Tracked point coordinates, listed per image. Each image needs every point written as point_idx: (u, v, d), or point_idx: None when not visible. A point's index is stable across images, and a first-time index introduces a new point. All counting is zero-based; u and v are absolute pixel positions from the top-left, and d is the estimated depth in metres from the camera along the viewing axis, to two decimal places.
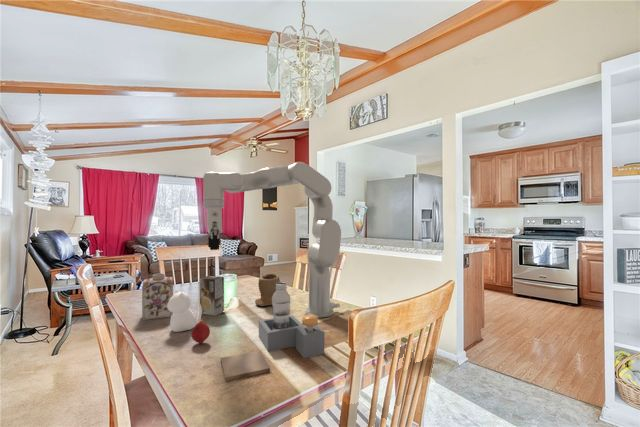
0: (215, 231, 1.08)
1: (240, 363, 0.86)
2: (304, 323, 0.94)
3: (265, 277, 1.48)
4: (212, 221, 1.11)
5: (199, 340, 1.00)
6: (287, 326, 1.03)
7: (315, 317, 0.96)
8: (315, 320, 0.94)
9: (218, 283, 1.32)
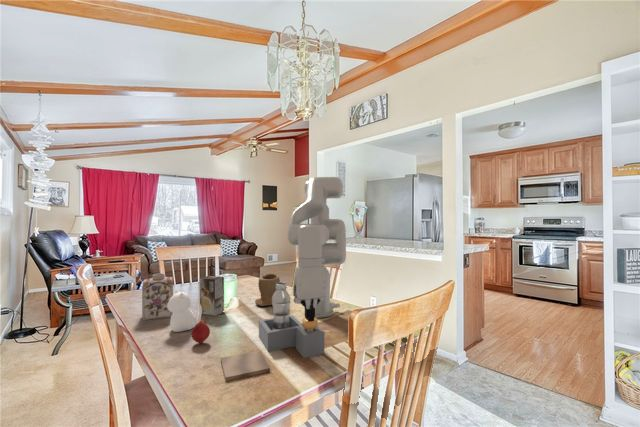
0: None
1: (240, 363, 0.86)
2: (304, 326, 0.94)
3: (265, 277, 1.48)
4: None
5: (199, 340, 1.00)
6: (287, 326, 1.03)
7: (315, 320, 0.96)
8: (315, 323, 0.94)
9: (218, 283, 1.32)
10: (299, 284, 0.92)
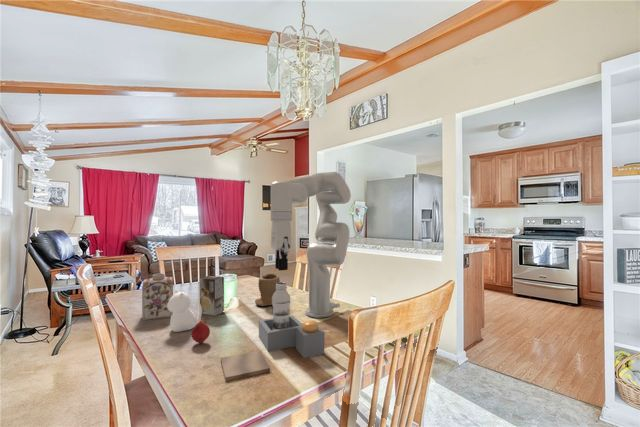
0: None
1: (240, 363, 0.86)
2: (304, 329, 0.94)
3: (265, 277, 1.48)
4: None
5: (199, 340, 1.00)
6: (287, 326, 1.03)
7: (315, 323, 0.96)
8: (315, 326, 0.94)
9: (218, 283, 1.32)
10: (290, 235, 1.02)
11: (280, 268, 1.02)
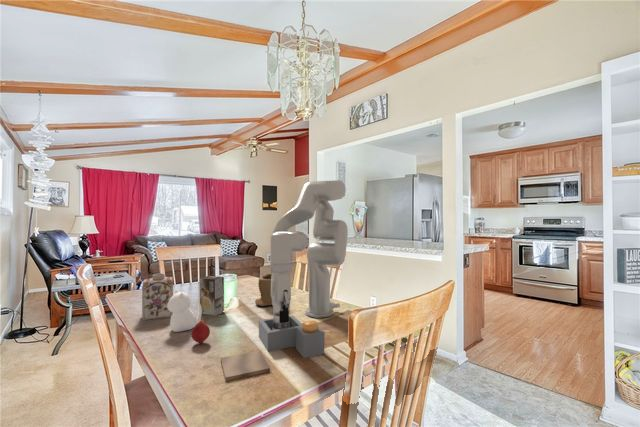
0: None
1: (240, 363, 0.86)
2: (304, 329, 0.94)
3: (265, 277, 1.48)
4: None
5: (199, 340, 1.00)
6: (287, 326, 1.03)
7: (315, 323, 0.96)
8: (315, 326, 0.94)
9: (218, 283, 1.32)
10: (290, 287, 1.02)
11: (281, 321, 1.01)
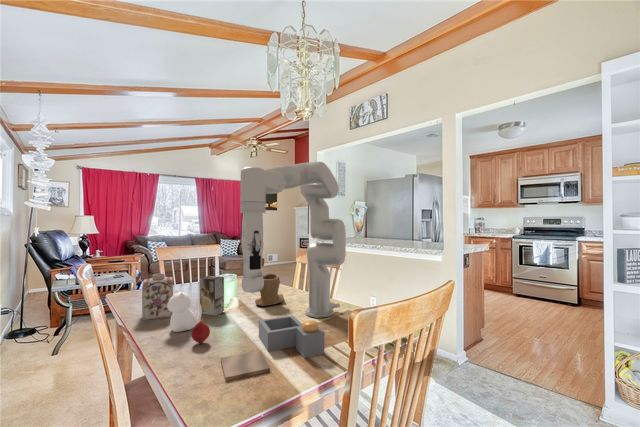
0: None
1: (240, 363, 0.86)
2: (304, 329, 0.94)
3: (265, 277, 1.48)
4: None
5: (199, 340, 1.00)
6: (259, 275, 0.89)
7: (315, 323, 0.96)
8: (315, 326, 0.94)
9: (218, 283, 1.32)
10: (262, 229, 0.87)
11: (251, 267, 0.86)
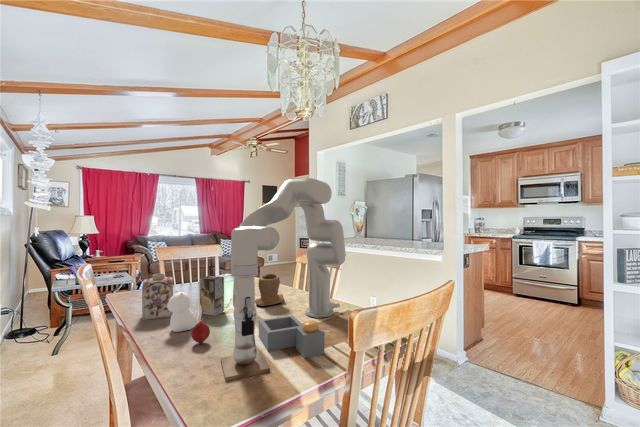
0: None
1: None
2: (304, 329, 0.94)
3: (265, 277, 1.48)
4: None
5: (199, 340, 1.00)
6: (251, 345, 0.85)
7: (315, 323, 0.96)
8: (315, 326, 0.94)
9: (218, 283, 1.32)
10: (254, 294, 0.84)
11: (244, 333, 0.82)
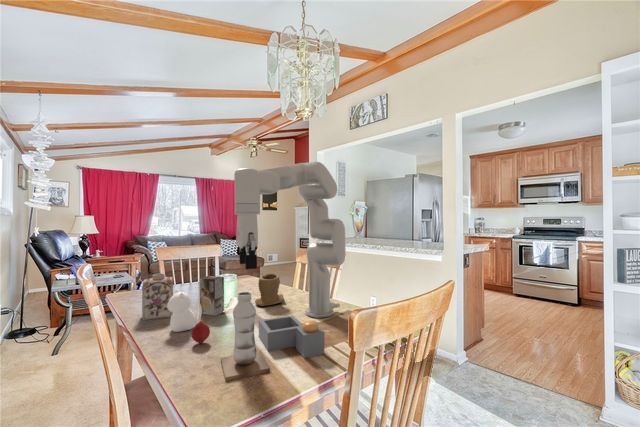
0: None
1: None
2: (304, 329, 0.94)
3: (265, 277, 1.48)
4: None
5: (199, 340, 1.00)
6: (251, 345, 0.85)
7: (315, 323, 0.96)
8: (315, 326, 0.94)
9: (218, 283, 1.32)
10: (257, 230, 0.87)
11: (247, 266, 0.85)
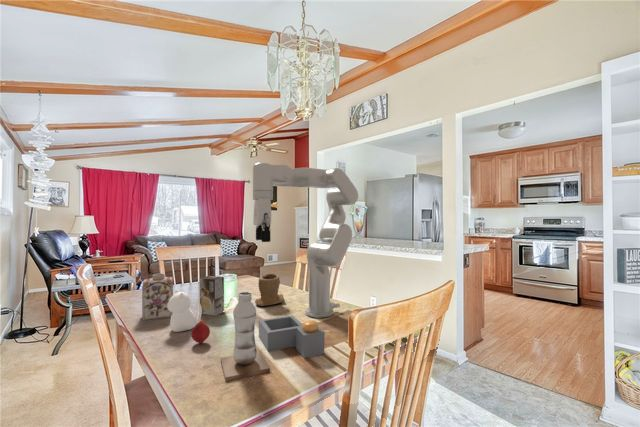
0: None
1: None
2: (304, 329, 0.94)
3: (265, 277, 1.48)
4: None
5: (199, 340, 1.00)
6: (251, 345, 0.85)
7: (315, 323, 0.96)
8: (315, 326, 0.94)
9: (218, 283, 1.32)
10: None
11: (263, 240, 1.08)
